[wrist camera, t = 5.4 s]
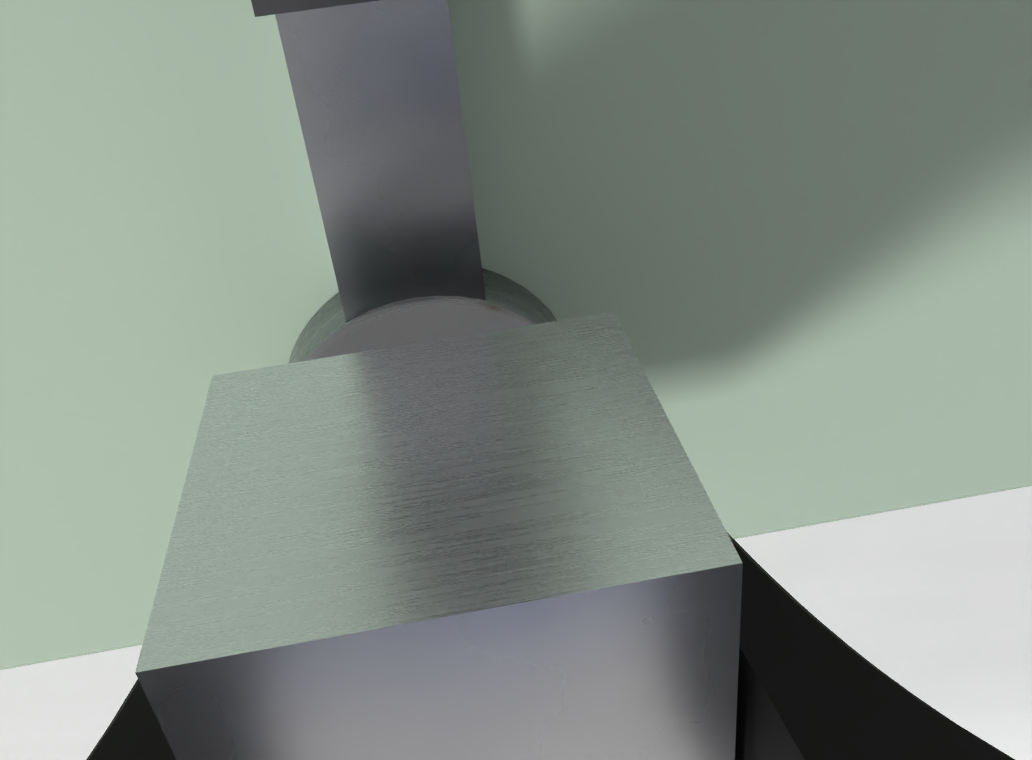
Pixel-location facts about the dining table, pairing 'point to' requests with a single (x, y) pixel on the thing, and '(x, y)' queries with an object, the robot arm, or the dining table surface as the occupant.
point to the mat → (522, 251)
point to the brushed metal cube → (446, 562)
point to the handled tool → (390, 177)
